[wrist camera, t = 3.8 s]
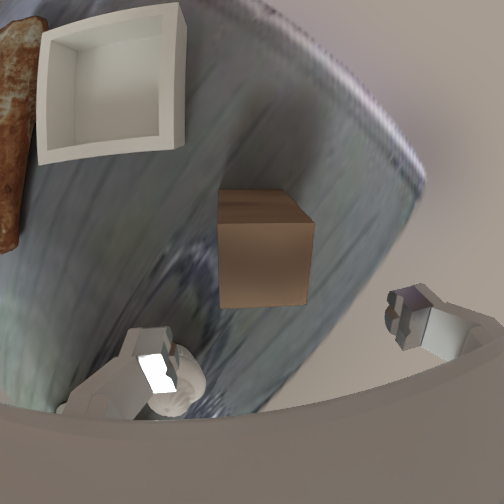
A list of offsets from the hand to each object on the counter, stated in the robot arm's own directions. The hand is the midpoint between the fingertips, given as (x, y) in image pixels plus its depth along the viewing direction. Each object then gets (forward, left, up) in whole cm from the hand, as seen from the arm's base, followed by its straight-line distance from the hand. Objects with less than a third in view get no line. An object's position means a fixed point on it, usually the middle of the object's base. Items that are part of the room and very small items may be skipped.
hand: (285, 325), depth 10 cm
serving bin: (+10, +9, -13) cm, 18 cm away
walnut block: (0, 0, -13) cm, 13 cm away
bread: (+8, +19, -13) cm, 24 cm away
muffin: (-13, +7, -13) cm, 20 cm away
